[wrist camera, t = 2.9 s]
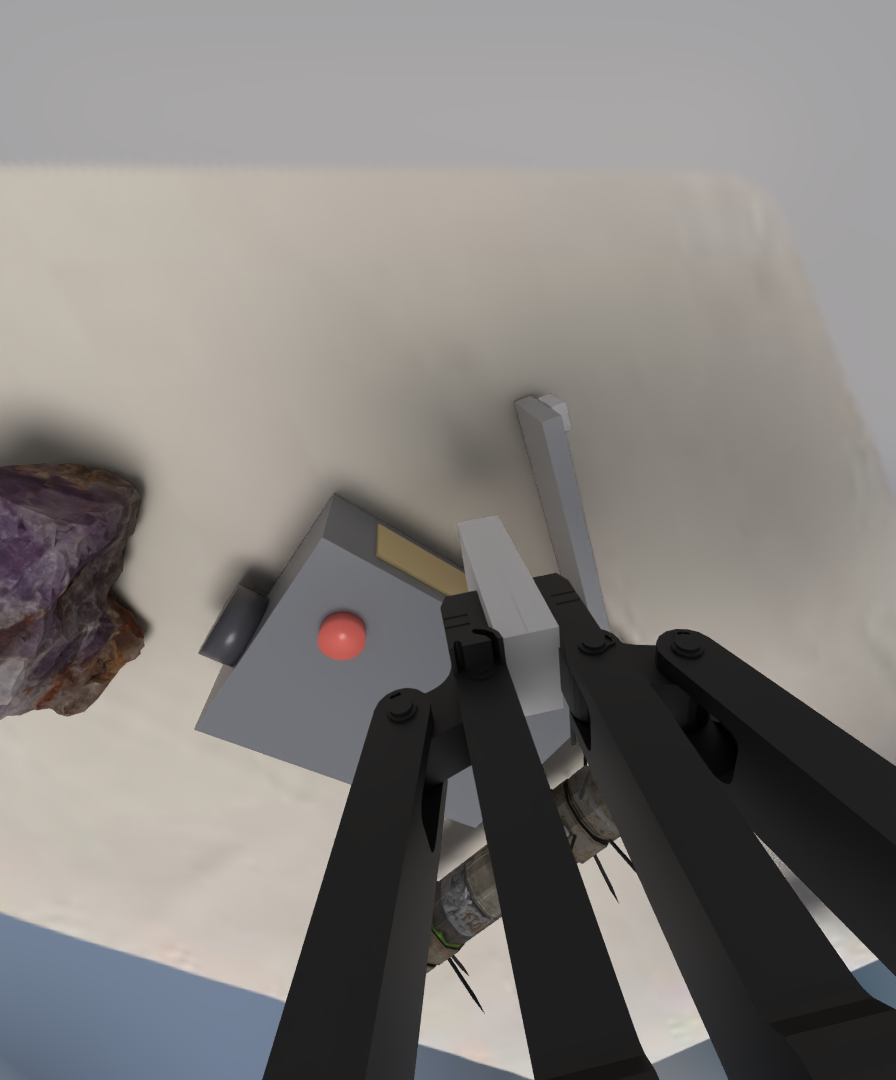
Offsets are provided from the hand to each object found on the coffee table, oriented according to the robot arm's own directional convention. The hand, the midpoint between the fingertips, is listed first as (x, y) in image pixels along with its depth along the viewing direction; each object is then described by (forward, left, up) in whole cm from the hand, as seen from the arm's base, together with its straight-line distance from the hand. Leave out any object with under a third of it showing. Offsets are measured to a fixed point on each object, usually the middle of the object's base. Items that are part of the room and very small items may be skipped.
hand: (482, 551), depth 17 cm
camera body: (-4, +10, -7) cm, 13 cm away
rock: (+14, +14, -8) cm, 21 cm away
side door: (-6, -1, -7) cm, 10 cm away
